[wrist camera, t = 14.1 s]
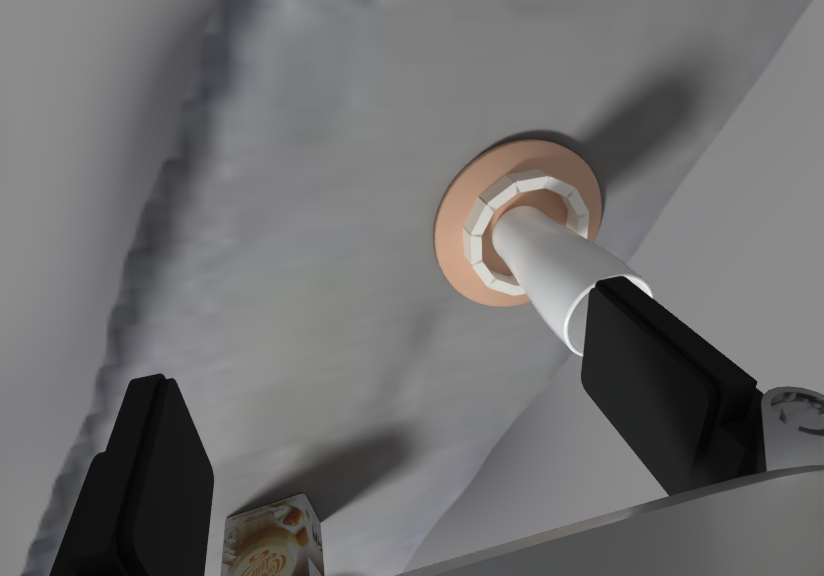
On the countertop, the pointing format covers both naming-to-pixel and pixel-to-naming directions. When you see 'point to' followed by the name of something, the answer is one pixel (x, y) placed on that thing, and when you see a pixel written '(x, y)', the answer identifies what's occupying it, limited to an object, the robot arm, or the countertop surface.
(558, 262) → the drinking glass
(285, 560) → the coffee box
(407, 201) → the countertop surface
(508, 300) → the tan saucer
